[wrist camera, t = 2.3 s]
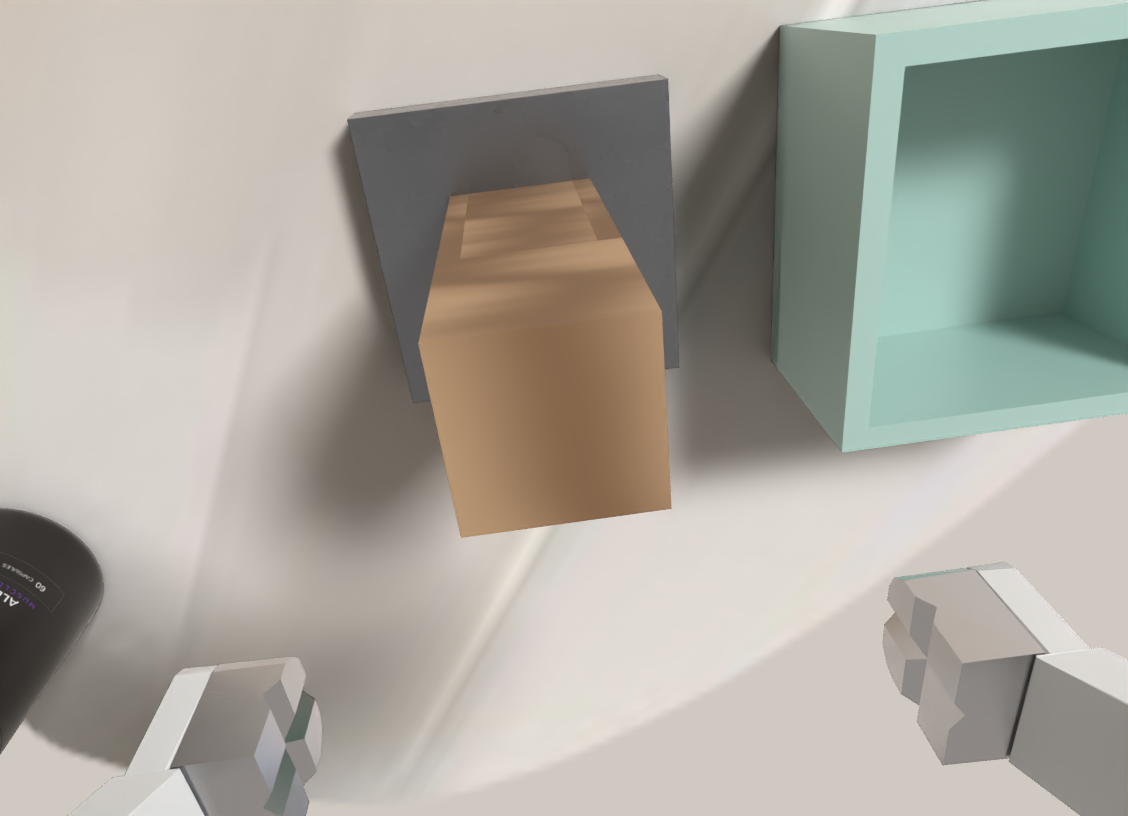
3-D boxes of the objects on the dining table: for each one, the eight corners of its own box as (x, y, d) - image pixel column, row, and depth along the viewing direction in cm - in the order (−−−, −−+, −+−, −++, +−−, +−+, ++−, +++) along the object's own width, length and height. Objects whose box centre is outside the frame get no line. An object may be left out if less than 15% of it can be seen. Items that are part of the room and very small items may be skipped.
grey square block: (416, 385, 29) (394, 496, 23) (354, 113, 25) (304, 154, 18) (670, 351, 30) (721, 451, 23) (658, 74, 25) (718, 101, 18)
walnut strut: (473, 326, 27) (460, 538, 16) (450, 196, 25) (418, 343, 14) (601, 309, 27) (671, 508, 16) (589, 178, 25) (661, 311, 14)
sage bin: (770, 360, 30) (841, 452, 24) (779, 25, 24) (876, 34, 18) (1064, 320, 30) (1209, 402, 24) (1142, -20, 25) (1357, -26, 19)
